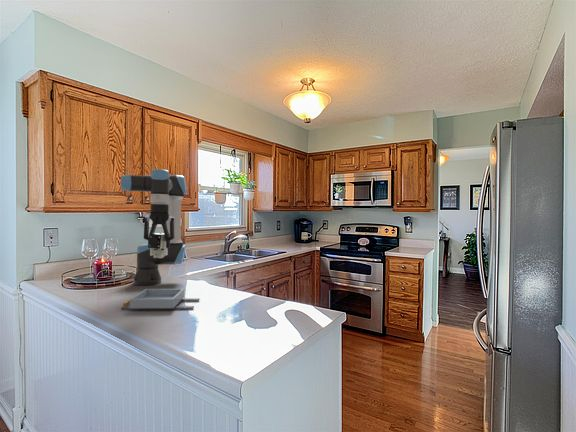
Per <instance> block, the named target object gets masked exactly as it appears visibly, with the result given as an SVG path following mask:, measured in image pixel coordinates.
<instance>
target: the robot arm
mask: <svg viewBox="0 0 576 432" xmlns="http://www.w3.org/2000/svg"><path fill="white" fill-rule="evenodd" d="M186 182H187V181H186V178H185V176H183V175H180V174H170V171H169V170H168V169H161V168H154V169H152V170H151V174H145V175H136V174H123V175H121V177H120V188H121V189H122V191H125V192H147V193H148V192H149V193H150V203H151V204H150V214H149V216H144V217H143V218H142V219H143V223H144V225H143V239H144V240H145V241H147V242H148V241H149V238H150V234H154V233H156V230H157V229H156V228H157V227H158V225H161V227H162V230H163V233H164V234H165V238H166V241H164V249H163V248H162V249H161V250H164V257H163V258H154V257H153V256H154V250H158V249H155V248H149V245H148V243H143V244H139V245H138V246H137V248H136V249H137V250H136V271H135V274H134V277H133V279H132V280H133V281H132V282H133V283H132V284H133V285H136V286H150V285H153V286H154V285H157V284H160V283H162V275H161V272H160V269H159V265H161V266H162V265H181V264H183V262H184V259H185V254H186V253H185V252H186V245H185V244H184V240H183V241H182V238H181V231H182V230H181V229H182V225H181V224H182V200H183V199H184V198H185V196H186V195H187V183H186ZM150 220H151V221H152V222H151V223H152V224H151V227H150ZM149 231H150V232H149ZM169 234H170V236H169Z"/></svg>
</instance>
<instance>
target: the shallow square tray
mask: <svg viewBox="0 0 576 432" xmlns="http://www.w3.org/2000/svg"><path fill="white" fill-rule="evenodd" d="M129 299H130V298H129ZM182 299H185V288H145V289H143V290H142V291H141V292H139V293H138V294H135V296H132V297H131V299H130V305H129V306H130V308H174V307H175V306H178V304H179V303H181V302H180V301H181V300H182Z"/></svg>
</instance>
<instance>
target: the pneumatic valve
mask: <svg viewBox="0 0 576 432" xmlns="http://www.w3.org/2000/svg"><path fill="white" fill-rule="evenodd" d="M149 234H150V233H149ZM169 236H170V234H169ZM164 241H166V238H165V234H164V232H162V230H160V231H159V232H154V234H150V238H149V241H148V240H147V244H148V245H149V248H155V249H158V250H154V256H153V257H154V258H163V257H164V250H161V249H162V248H163V249H164Z"/></svg>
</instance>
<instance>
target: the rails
mask: <svg viewBox="0 0 576 432" xmlns="http://www.w3.org/2000/svg"><path fill="white" fill-rule="evenodd" d="M131 298H132V297H131ZM131 298H129V299H128V300H126V301H125V302H122V307H120V310H121V311H141V310H142V311H163V310H164V311H171V310H170V309H193V308H194V309H195V305H176V306H175V307H174V308H130V299H131ZM199 300H200V298H183V299H182V300H181V301H199ZM199 302H200V301H199ZM194 309H193V310H194Z"/></svg>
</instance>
